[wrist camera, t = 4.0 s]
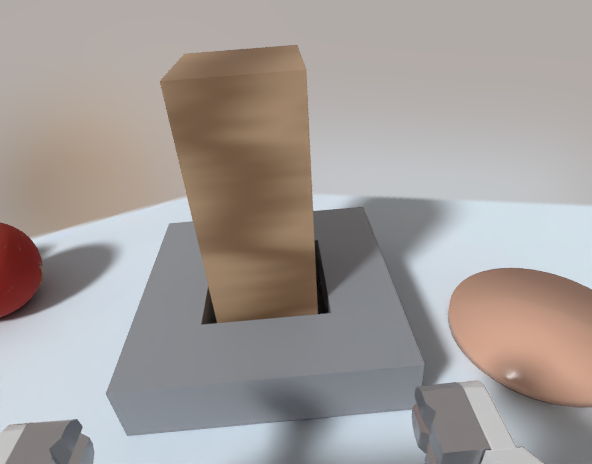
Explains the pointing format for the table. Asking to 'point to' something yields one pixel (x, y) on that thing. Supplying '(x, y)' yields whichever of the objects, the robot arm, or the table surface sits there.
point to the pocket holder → (267, 343)
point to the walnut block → (247, 177)
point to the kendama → (17, 269)
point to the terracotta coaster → (527, 332)
